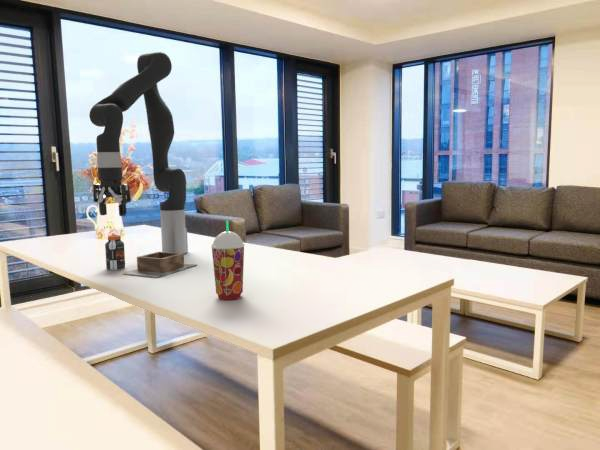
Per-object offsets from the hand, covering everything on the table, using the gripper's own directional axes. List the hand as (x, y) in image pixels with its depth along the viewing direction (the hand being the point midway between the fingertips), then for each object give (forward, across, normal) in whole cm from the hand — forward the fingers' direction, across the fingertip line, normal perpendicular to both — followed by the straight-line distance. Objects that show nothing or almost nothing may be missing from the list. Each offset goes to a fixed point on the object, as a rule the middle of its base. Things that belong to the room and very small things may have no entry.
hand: (112, 215), depth 161 cm
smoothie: (+18, -56, +16) cm, 61 cm away
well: (+18, -16, -4) cm, 24 cm away
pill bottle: (+18, 0, 0) cm, 18 cm away
